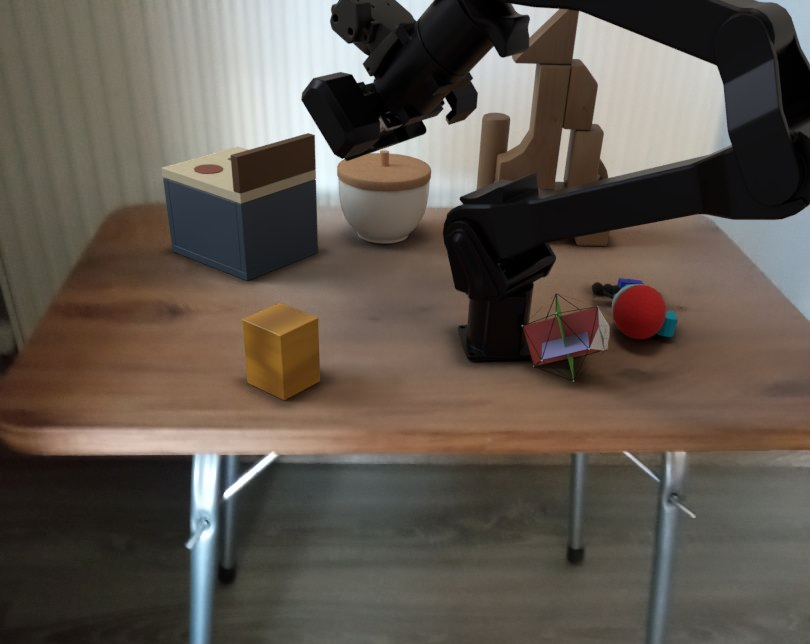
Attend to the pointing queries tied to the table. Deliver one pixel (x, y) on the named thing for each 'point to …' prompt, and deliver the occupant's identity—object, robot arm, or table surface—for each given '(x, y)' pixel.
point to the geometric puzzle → (567, 336)
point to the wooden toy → (550, 120)
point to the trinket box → (383, 195)
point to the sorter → (243, 228)
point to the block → (282, 350)
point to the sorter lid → (249, 169)
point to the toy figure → (638, 309)
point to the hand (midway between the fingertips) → (345, 155)
